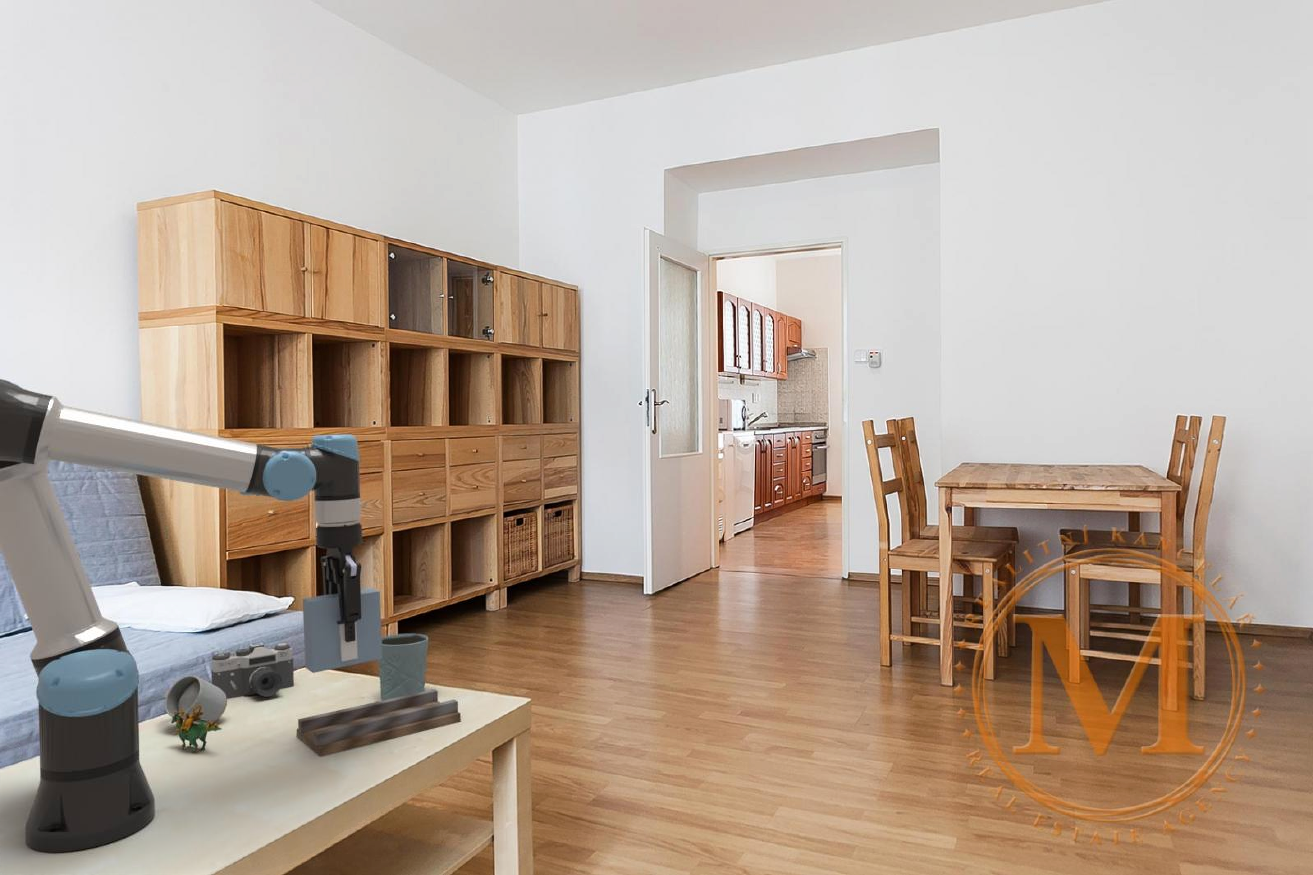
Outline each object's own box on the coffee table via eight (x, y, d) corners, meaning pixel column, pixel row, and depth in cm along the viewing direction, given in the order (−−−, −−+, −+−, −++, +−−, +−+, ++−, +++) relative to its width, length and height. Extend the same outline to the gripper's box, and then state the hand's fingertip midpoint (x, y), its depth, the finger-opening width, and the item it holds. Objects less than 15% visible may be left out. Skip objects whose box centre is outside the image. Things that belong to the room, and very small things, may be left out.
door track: (319, 756, 147) (319, 736, 147) (296, 737, 156) (296, 717, 156) (460, 721, 164) (460, 702, 164) (432, 705, 173) (431, 688, 173)
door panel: (313, 673, 147) (310, 602, 147) (305, 667, 150) (302, 598, 150) (382, 658, 155) (379, 591, 154) (373, 654, 158) (371, 588, 157)
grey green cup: (368, 704, 174) (367, 644, 174) (390, 688, 184) (390, 632, 184) (416, 706, 173) (415, 645, 172) (436, 690, 183) (435, 633, 182)
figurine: (180, 744, 154) (179, 697, 153) (229, 753, 149) (228, 706, 149) (164, 750, 151) (163, 703, 151) (214, 760, 146) (213, 711, 146)
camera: (221, 711, 171) (220, 660, 171) (210, 698, 179) (209, 650, 179) (304, 694, 181) (303, 647, 181) (289, 683, 189) (288, 637, 189)
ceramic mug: (210, 735, 162) (238, 699, 164) (177, 724, 156) (207, 687, 158) (182, 705, 168) (209, 671, 170) (148, 694, 161) (177, 658, 163)
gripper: (378, 525, 147) (384, 662, 148) (343, 517, 161) (348, 643, 161) (333, 530, 143) (339, 671, 143) (301, 521, 156) (306, 651, 157)
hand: (344, 656), depth 152 cm, fingers closed on door panel, 4 cm apart
